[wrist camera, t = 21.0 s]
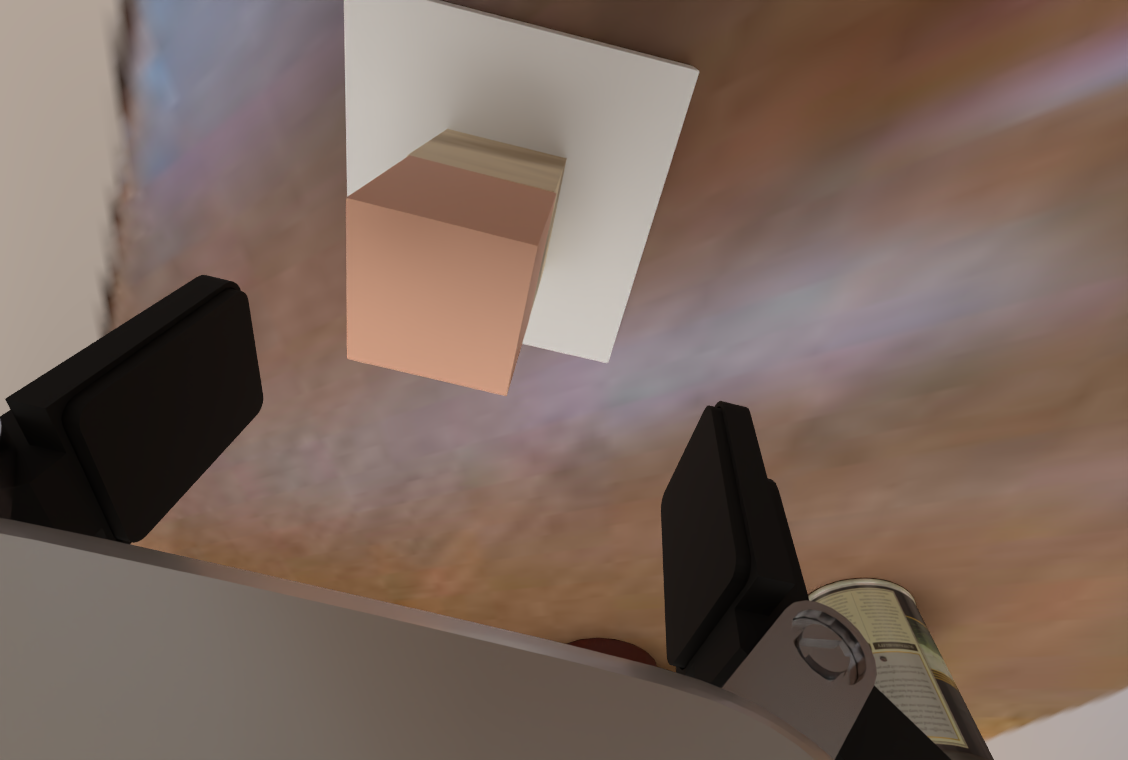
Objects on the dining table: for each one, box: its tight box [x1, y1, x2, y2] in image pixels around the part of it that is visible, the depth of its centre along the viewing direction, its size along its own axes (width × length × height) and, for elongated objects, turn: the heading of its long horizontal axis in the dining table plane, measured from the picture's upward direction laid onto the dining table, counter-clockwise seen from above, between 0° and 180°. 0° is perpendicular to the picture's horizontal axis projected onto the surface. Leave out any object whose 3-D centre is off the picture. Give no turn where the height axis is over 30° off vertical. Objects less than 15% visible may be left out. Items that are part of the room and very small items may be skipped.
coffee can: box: [808, 578, 994, 760], centre depth 44 cm, size 10×10×14 cm
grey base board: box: [344, 0, 699, 363], centre depth 29 cm, size 16×16×3 cm
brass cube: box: [407, 129, 567, 311], centre depth 26 cm, size 6×6×6 cm
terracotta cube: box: [346, 155, 556, 396], centre depth 21 cm, size 6×6×6 cm
